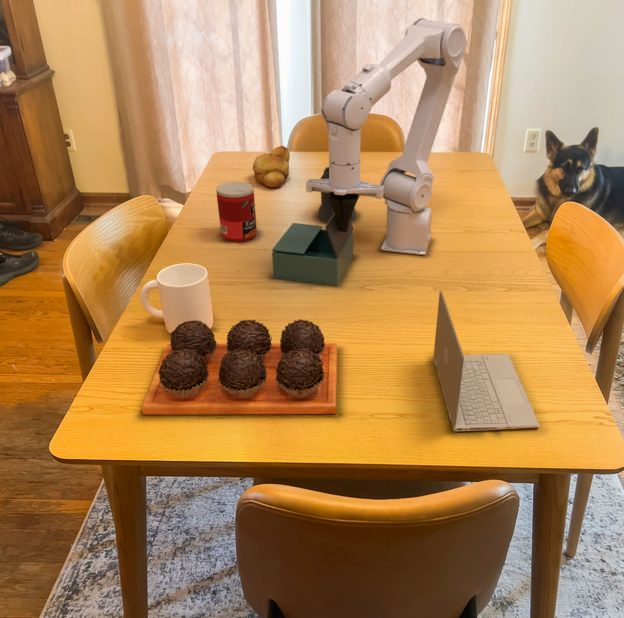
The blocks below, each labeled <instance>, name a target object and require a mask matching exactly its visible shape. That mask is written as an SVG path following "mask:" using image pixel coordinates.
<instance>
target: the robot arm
mask: <svg viewBox="0 0 624 618" xmlns="http://www.w3.org/2000/svg"><path fill="white" fill-rule="evenodd" d="M467 45H468V41H467V37H466V32H465V29H464V27H463V26H462V25H461V24H460V23H457V22H453V23H451V22H445V21H438V20H432V19H427V18H424V17H419V18H416V19H415V20H413V22H412V23H411V24H409V26H407V27H406V30H405V33H404V37H403V38H402V39H401V40H400V41H399V42H398V44H396V45H395V46H394V48H393V49H392V50H391V51H390V52H389V53H388V54H387V55H386V56H385V57H384V59H382V60H381V62H379V64H378V63H370V64H367V63H366V64H365V65H364V66H363V67H362V68H361V71H360V72H359V73H358V74H357V75H355V77H353V78H352V79H351V80H350V81H348V82H347V83H346V84H344V86H343V88H341V89H334V90H332V91H331V92H330V93H328V94H327V95H326V97H325V98H324V100H323V103H322V107H321V108H320V114H321V118H322V119H323V121H324V122H325V125H326V127H325V128H326V129H325V130H326V131H327V133H328V167H329V179H320V178H308V179H307V180H306V182H305V192H306V193H313V192H318V193H321V192H326V193H330V197H329V203H330V205H331V206H332V208H333V210H334V212H335V214H336V217H337V219H338V223H339V227H340V231H341V232H347V231H348V229H349V225H350V220H351V216H352V213H353V210H354V209H355V207H356V206H357V205H356V204H357V202H358V200H359V198H360V197H368V198H369V197H370V198H375V199H377V200H382V199H383V200H384V205H386V226H385V227H386V231H385V235H386V236H385V239H384V241H383V243H382V244H381V247H380V250H381V251H382V252H383V251H384V252H390V253H391V252H393V253H401V254H411V255H420V256H425V255H426V253H427V251H428V247H429V246H430V243H431V239H432V234H431V230H432V219H433V209H432V208H431V207H427V205H428V204H429V202H430V201H431V197H432V193H433V192H432V189H433V182H434V179H435V176H434V173H433V172H432V170H431V169H430V167H429V165H428V161H429V158H430V154H431V152H432V149H433V146H434V143H435V140H436V137H437V134H438V131H439V129H440V125H441V122H442V119H443V116H444V113H445V111H446V110H445V109H446V107H447V104H448V101H449V98H450V94H451V92H452V89H453V86H454V83H455V79H456V76H457V74H458V73H459V70H460V68H461V67H460V66H461V63H462V61H463V58H464V55H465V51H466V48H467ZM416 61H417V63H418V64H419V66H420V67H421V68H422V69H423V71H424V74H425V77H426V78H425V80H424V84H423V87H422V91H421V94H420V96H419V100H418V103H417V106H416V109H415V112H414V116H413V118H412V121H411V125H410V128H409V131H408V133H407V137H406V140H405V144H404V146H403V149H402V153H401V155H400V156H399V157H397V158H395V159H393V160H392V161H390V162H389V164H388V167H387V170H386V172H384V174H383V176H382V178H381V179H380V183H379V184H376V183H372V182H371V183H370V182H367V181H363V180H361V140H362V139H361V136H362V135H361V133H362V132H361V131H362V129H361V128H362V127H363V126H364V125H365V124H366V122H367V120H368V117H369V114H370V112H371V111H372V109H373V106H375V105H376V104H377V103H378V102H379V101H380V100H381V99H382V98H384V96H385V95H387V94H388V93H389V91H390V90H391V88H392V80H393V79H395V78H396V77H397V76H398V75H400V74H402V72H403V71H405V70H406V69H407V68H409V67H411V65H413V64H414V63H415V62H416ZM407 173H409V174H407ZM410 174H412V175H410Z"/></svg>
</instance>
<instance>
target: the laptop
mask: <svg viewBox="0 0 624 618" xmlns="http://www.w3.org/2000/svg"><path fill="white" fill-rule="evenodd" d="M434 335H435V336H434V346H433V347H434V348H433V361H434V364H435V367H436V372H437V375H438V380H439V383H440V386H441V390H442V394H443V399H444V401H445V405H446V409H447V413H448V416H449V419H450V422H451V427H452V431H453V432H473V431H475V432H477V431H496V430H497V431H498V430H513V429H514V430H515V429H529V428H540V427H541V425H540V423H539V421H538V418H537V415H536V414H535V411H534V409H533V406H532V403H531V402H530V400H529V398H528V395H527V393H526V391H525V389H524V386H523V384H522V381H521V379H520V377H519V374H518V372H517V370H516V368H515V366H514V363H513V361H512V359H511V357H510V354H508V353H496V354H493V353H492V354H464V353H463V349H462V346H461V343H460V340H459V337H458V335H457V332H456V328H455V326H454V323H453V320H452V317H451V314H450V311H449V308H448V305H447V302H446V299H445V297H444V294H443V291H442V290H439V294H438V303H437V316H436V326H435V334H434Z"/></svg>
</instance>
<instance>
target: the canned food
mask: <svg viewBox="0 0 624 618" xmlns="http://www.w3.org/2000/svg"><path fill="white" fill-rule="evenodd" d="M215 189H216V190H215V191H216V192H215V193H216V201H217V211H218V220H219V226H220V227H219V228H220V235H221V236H222V238H223V239H224V240H226V241H229V242H231V243H244V242H249V241H251V240H253V239H254V238H255V237H256V236H257V232H258V228H257V214H256V201H255V190H254V187H253V185H252V183H251V184H250V183H248V182H244V181H228V182H224V183H221V184H219V185H217V186H216V188H215Z"/></svg>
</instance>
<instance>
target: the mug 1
mask: <svg viewBox="0 0 624 618" xmlns="http://www.w3.org/2000/svg"><path fill="white" fill-rule="evenodd" d="M152 290H158V293H159V299H160V305H161V309H157V308H155V307H154V306H153V305H152V304H151V302H150V298H149V294H150V292H151V291H152ZM139 299H140V303H141V306H142V307H143V309H144V310H145V311H146V312H147V313H148V314H149V315H151V316H152V317H153V318H157V319H163V321H164V326H165V329H166V331H167V332H168V333H169V334H170V333H171V332H172V331H174V330H175V329H176V327H177V326H178V325H179V324H182V323H184V322H186V321H193V320H198V321H201V322H203V323H204V324H206V325H207V326H208V327H209V329H210V328H211V329H212V327H213V326H214V311H213V306H212V304H213V303H212V297H211V289H210V283H209V273H208V270H207V268H205V267H204V266H202V265H200V264H198V263H197V264H196V263H186V262H185V263H177V264H172V265H169V266H166V267H165V268H163V269H161V270H160V271H159V272H158V273H157V274H156V279H152V280H149V281H147V282H146V283H145V284H144V285H143V286H142V288H141V290H140V298H139Z"/></svg>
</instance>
